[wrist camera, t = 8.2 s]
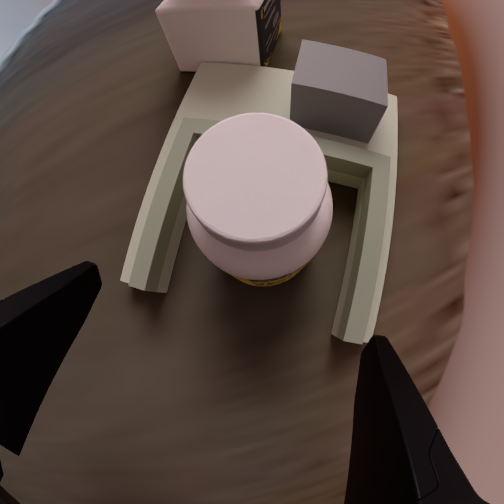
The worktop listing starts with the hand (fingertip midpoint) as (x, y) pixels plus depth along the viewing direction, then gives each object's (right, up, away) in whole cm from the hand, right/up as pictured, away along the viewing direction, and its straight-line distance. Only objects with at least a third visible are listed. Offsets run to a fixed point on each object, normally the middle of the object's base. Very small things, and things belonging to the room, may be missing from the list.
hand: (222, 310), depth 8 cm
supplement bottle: (+2, +2, +9) cm, 9 cm away
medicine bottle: (-1, +19, +12) cm, 22 cm away
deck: (+2, +6, +9) cm, 11 cm away
